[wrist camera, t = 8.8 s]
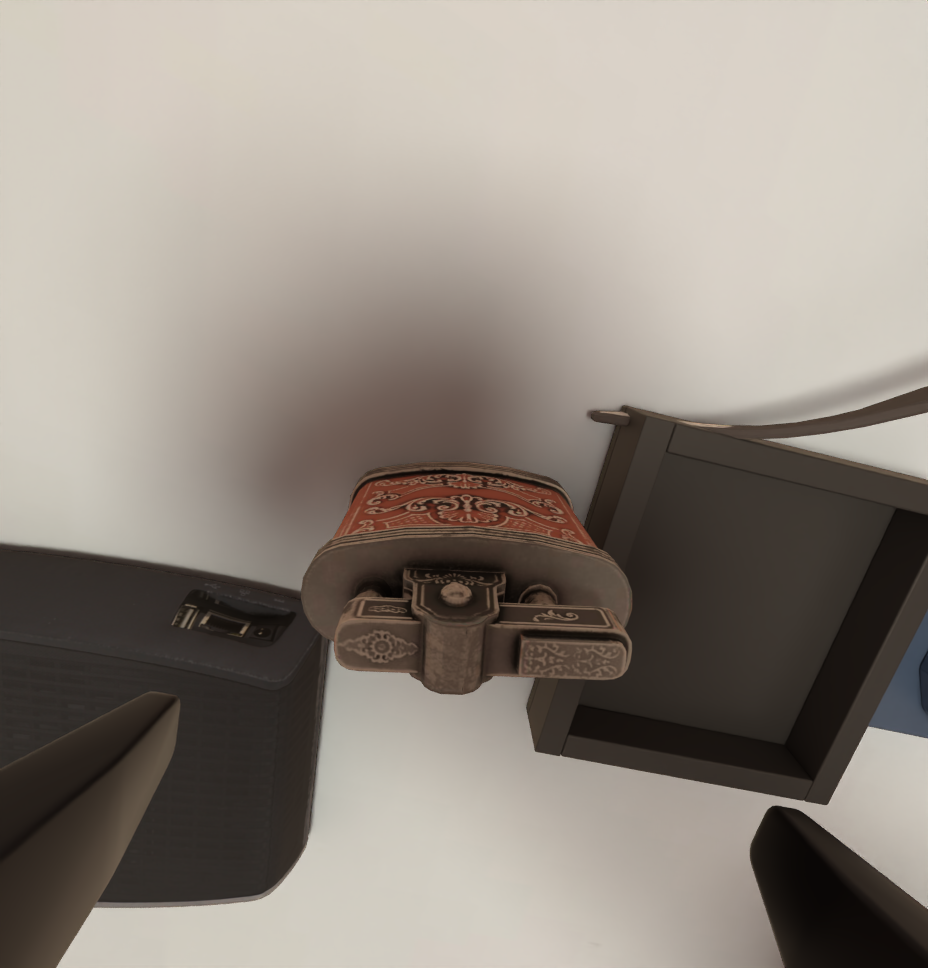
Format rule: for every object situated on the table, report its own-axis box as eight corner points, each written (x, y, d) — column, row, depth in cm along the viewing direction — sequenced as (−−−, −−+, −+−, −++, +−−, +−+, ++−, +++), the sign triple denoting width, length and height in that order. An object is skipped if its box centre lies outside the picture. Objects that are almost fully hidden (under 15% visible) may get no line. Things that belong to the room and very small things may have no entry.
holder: (924, 479, 21) (986, 498, 18) (790, 758, 24) (827, 806, 22) (622, 404, 20) (646, 415, 17) (525, 707, 23) (534, 752, 21)
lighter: (352, 543, 21) (270, 728, 11) (352, 455, 20) (264, 575, 10) (563, 553, 21) (658, 740, 12) (573, 467, 20) (686, 593, 11)
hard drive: (309, 849, 25) (282, 948, 21) (-151, 802, 23) (-272, 898, 20) (338, 585, 21) (312, 644, 17) (-198, 514, 20) (-358, 559, 16)
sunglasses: (1066, 362, 20) (1247, 372, 15) (589, 446, 22) (611, 479, 17) (1108, -229, 16) (1377, -480, 11) (516, -54, 18) (518, -198, 13)
